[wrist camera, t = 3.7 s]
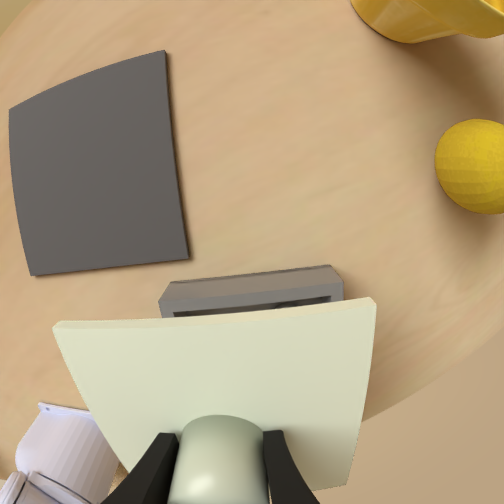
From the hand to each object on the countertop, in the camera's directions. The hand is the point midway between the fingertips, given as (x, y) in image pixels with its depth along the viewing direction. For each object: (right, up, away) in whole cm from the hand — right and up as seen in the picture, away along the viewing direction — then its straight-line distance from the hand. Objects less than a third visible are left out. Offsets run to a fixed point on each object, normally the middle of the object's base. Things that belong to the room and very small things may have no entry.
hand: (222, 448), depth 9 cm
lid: (0, 0, +2) cm, 2 cm away
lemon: (+14, +13, +8) cm, 21 cm away
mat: (-10, +12, +7) cm, 18 cm away
